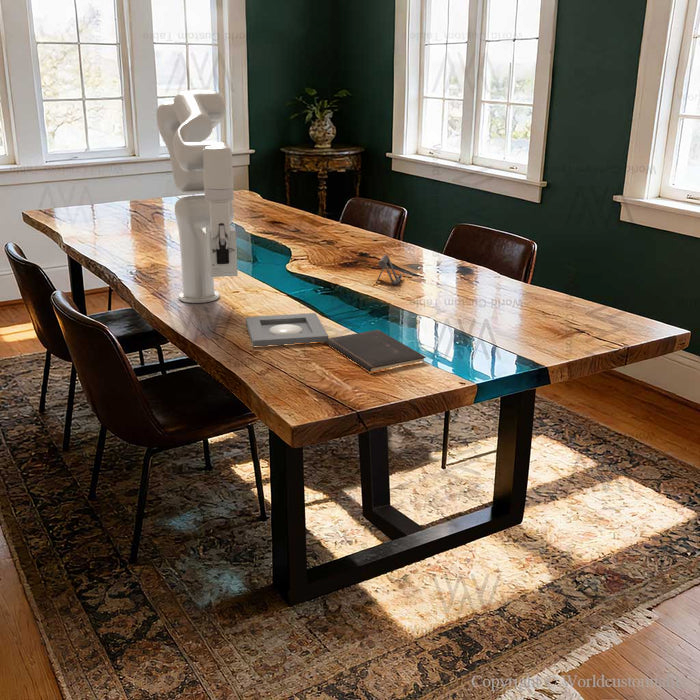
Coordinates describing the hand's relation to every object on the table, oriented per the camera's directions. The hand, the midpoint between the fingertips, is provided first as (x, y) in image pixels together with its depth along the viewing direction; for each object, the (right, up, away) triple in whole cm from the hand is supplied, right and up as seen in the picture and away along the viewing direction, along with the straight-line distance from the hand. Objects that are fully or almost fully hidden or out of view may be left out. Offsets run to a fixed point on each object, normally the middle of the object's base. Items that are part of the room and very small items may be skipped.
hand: (222, 259), depth 214 cm
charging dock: (+17, -20, +4) cm, 26 cm away
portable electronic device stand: (+47, -2, +53) cm, 71 cm away
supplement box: (0, -4, +2) cm, 4 cm away
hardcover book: (+41, -26, -10) cm, 50 cm away
